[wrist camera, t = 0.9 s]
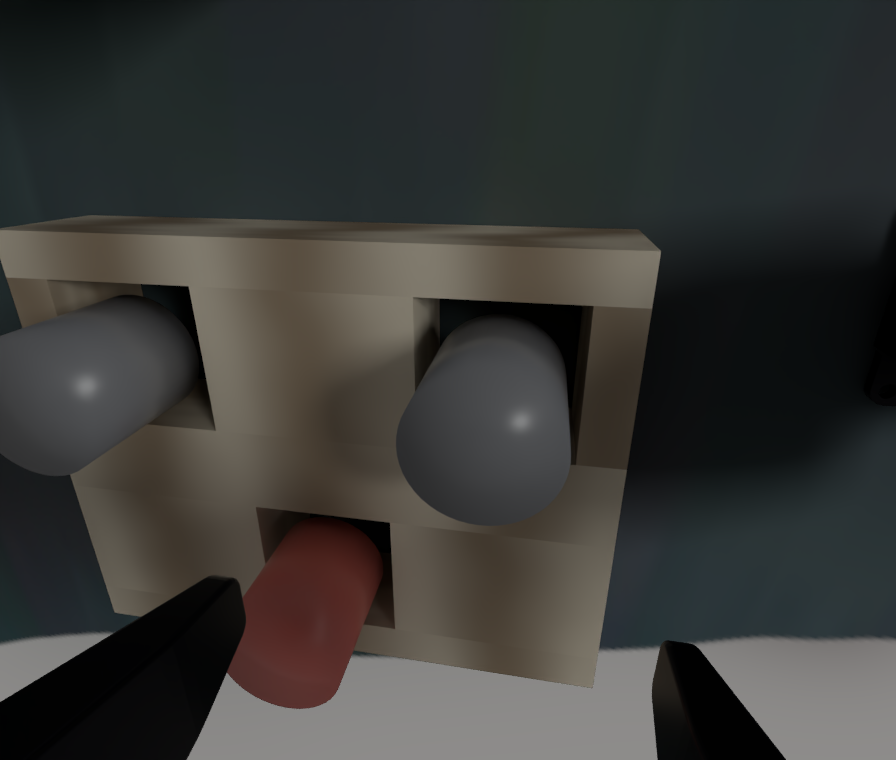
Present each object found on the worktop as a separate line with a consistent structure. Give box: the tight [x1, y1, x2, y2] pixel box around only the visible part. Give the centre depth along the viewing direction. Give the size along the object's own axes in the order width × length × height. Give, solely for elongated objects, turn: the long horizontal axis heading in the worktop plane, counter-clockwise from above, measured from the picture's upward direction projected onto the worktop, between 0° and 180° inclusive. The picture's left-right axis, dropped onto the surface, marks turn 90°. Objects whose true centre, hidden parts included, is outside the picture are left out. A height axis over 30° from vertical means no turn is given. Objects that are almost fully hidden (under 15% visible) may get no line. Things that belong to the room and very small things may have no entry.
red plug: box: [227, 517, 383, 709], centre depth 18 cm, size 4×4×4 cm
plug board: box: [0, 215, 661, 688], centre depth 20 cm, size 20×16×4 cm
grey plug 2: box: [396, 314, 571, 526], centre depth 14 cm, size 4×4×4 cm
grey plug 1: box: [0, 295, 199, 476], centre depth 16 cm, size 4×4×4 cm
